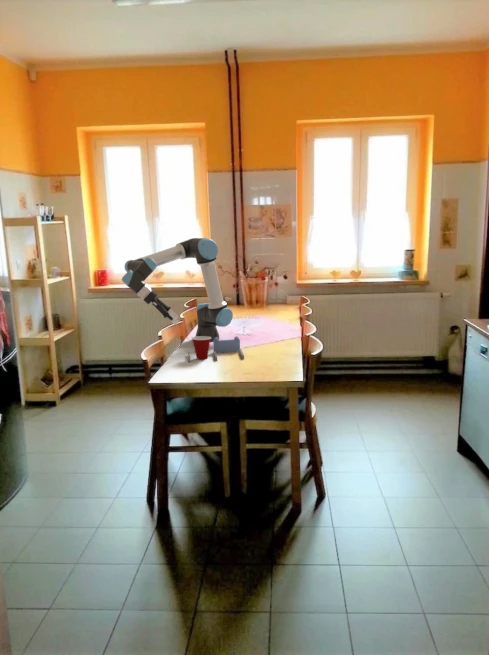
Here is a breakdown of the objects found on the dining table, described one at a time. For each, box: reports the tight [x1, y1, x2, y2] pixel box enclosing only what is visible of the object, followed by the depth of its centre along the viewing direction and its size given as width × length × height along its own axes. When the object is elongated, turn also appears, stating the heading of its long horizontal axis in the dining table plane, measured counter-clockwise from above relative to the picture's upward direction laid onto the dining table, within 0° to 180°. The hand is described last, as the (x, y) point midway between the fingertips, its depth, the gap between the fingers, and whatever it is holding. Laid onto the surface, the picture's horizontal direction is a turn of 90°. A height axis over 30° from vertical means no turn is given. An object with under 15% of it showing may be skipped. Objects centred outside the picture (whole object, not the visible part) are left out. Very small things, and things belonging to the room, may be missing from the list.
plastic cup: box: [191, 336, 211, 361], centre depth 274 cm, size 11×11×12 cm
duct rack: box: [187, 335, 245, 363], centre depth 277 cm, size 18×30×9 cm, turn 97°
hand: (177, 321), depth 271 cm, fingers open, 13 cm apart
